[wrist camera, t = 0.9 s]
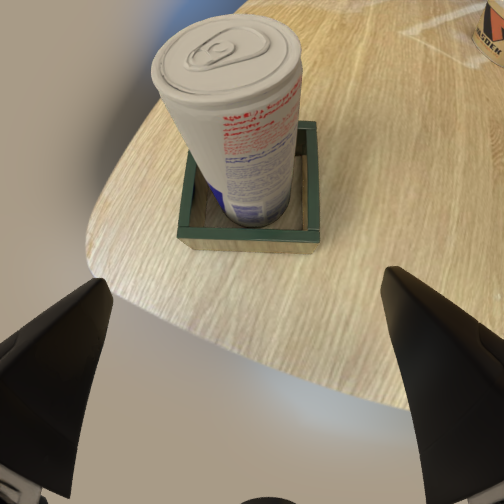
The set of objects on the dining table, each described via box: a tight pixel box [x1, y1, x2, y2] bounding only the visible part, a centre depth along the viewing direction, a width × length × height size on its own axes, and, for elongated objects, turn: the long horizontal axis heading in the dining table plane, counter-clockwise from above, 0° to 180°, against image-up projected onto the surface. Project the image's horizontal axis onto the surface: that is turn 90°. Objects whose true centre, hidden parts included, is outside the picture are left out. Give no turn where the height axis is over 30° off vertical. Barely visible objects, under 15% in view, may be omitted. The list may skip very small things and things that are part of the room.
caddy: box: [177, 121, 320, 254], centre depth 21 cm, size 9×9×4 cm
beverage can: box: [151, 14, 303, 227], centre depth 16 cm, size 6×6×15 cm
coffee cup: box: [472, 0, 504, 67], centre depth 19 cm, size 9×9×12 cm
